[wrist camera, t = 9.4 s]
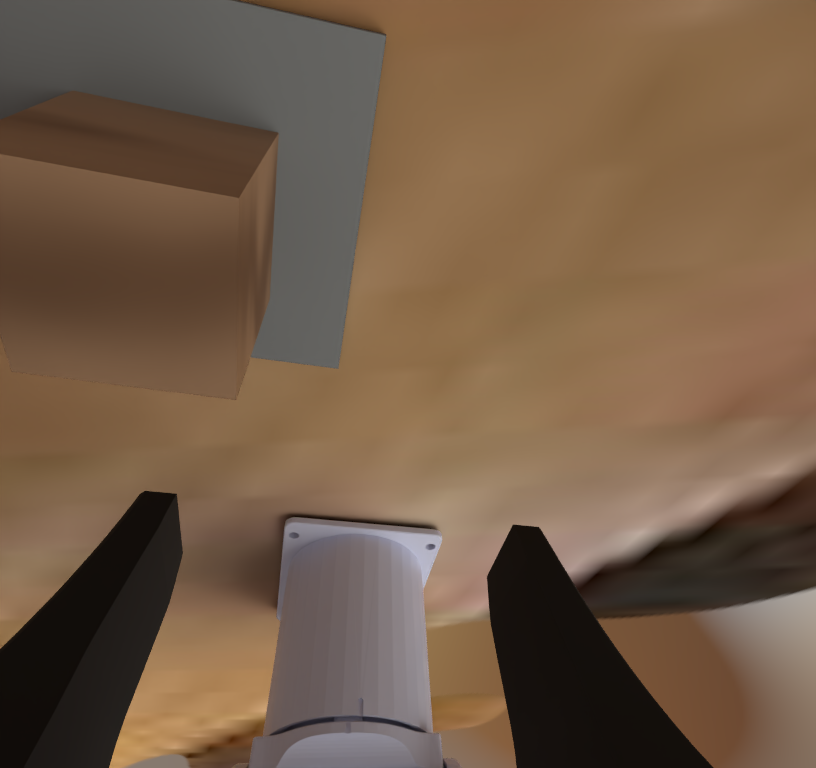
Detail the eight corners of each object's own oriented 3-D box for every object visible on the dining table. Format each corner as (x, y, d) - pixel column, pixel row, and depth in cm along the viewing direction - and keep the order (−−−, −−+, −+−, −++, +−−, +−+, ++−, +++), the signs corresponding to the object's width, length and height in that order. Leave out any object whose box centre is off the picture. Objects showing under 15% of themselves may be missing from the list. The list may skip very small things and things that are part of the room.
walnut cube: (269, 299, 19) (236, 400, 14) (101, 272, 18) (11, 371, 13) (278, 132, 15) (238, 198, 11) (73, 90, 14) (-59, 143, 10)
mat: (338, 362, 21) (338, 368, 21) (34, 322, 19) (28, 327, 19) (386, 34, 14) (386, 36, 14) (-72, -71, 13) (-84, -72, 12)
